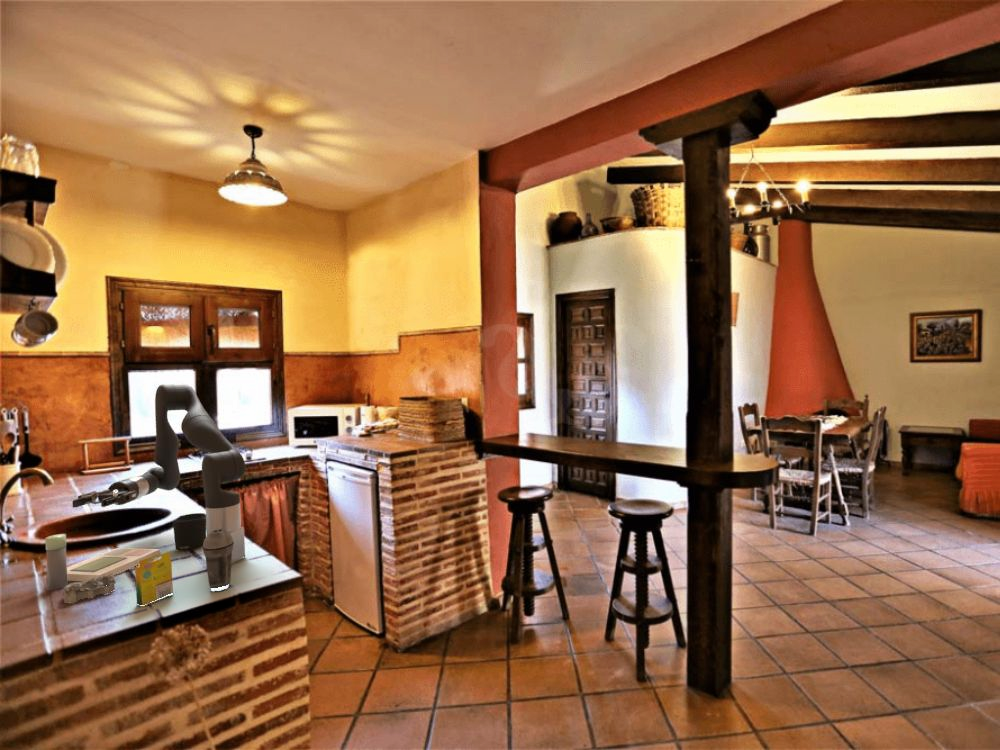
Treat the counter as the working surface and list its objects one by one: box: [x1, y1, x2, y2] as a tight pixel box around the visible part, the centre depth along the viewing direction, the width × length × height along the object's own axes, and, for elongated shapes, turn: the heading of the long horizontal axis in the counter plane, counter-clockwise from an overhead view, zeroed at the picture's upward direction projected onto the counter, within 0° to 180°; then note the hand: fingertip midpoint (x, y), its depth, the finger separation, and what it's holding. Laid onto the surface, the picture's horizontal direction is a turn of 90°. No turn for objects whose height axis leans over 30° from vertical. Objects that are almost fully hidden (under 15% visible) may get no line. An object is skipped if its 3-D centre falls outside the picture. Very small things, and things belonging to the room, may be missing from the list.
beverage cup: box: [202, 512, 234, 589], centre depth 132 cm, size 7×7×20 cm
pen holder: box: [172, 512, 207, 552], centre depth 166 cm, size 9×9×10 cm
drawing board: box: [67, 547, 161, 582], centre depth 150 cm, size 16×20×2 cm
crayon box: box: [134, 551, 174, 605], centre depth 126 cm, size 7×3×12 cm, turn 150°
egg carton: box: [62, 573, 116, 604], centre depth 131 cm, size 11×8×4 cm
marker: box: [44, 533, 69, 591], centre depth 136 cm, size 4×4×14 cm
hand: (88, 503), depth 147 cm, fingers open, 8 cm apart
